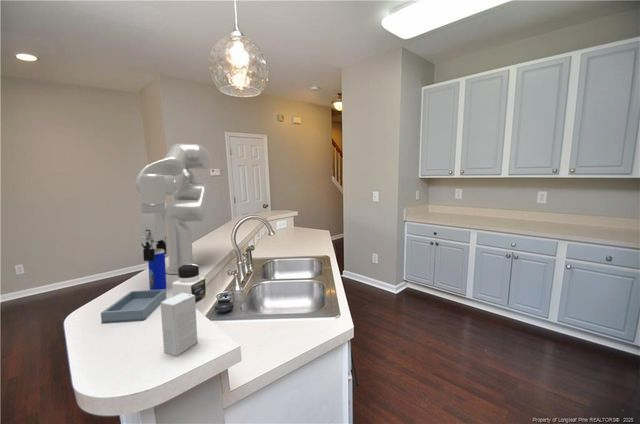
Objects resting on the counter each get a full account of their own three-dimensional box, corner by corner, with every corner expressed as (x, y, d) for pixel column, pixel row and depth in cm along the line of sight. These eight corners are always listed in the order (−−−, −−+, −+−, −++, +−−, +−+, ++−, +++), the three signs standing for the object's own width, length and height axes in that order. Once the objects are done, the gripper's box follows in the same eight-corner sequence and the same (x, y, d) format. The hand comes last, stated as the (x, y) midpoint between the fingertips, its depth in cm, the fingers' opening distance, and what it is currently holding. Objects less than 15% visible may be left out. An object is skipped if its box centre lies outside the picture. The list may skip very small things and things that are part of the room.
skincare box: (184, 338, 66) (182, 291, 65) (198, 342, 64) (196, 294, 63) (162, 352, 60) (159, 301, 59) (176, 357, 59) (173, 305, 58)
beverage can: (148, 290, 97) (146, 249, 95) (164, 286, 100) (162, 247, 99) (151, 294, 93) (149, 252, 92) (168, 290, 96) (166, 250, 95)
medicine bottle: (192, 306, 84) (190, 269, 83) (172, 304, 85) (170, 267, 84) (206, 297, 91) (205, 263, 90) (187, 295, 92) (186, 261, 91)
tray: (131, 299, 89) (131, 291, 88) (166, 297, 90) (165, 289, 90) (101, 323, 73) (100, 312, 73) (143, 320, 75) (143, 310, 75)
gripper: (153, 208, 102) (155, 252, 103) (128, 210, 84) (131, 264, 86) (174, 208, 103) (176, 251, 104) (154, 210, 86) (156, 263, 87)
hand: (155, 257), depth 95 cm, fingers open, 9 cm apart
